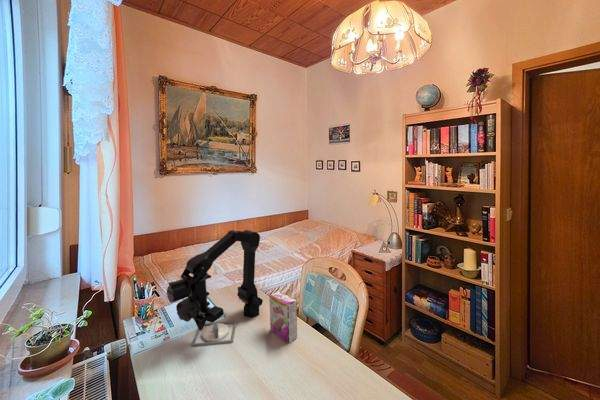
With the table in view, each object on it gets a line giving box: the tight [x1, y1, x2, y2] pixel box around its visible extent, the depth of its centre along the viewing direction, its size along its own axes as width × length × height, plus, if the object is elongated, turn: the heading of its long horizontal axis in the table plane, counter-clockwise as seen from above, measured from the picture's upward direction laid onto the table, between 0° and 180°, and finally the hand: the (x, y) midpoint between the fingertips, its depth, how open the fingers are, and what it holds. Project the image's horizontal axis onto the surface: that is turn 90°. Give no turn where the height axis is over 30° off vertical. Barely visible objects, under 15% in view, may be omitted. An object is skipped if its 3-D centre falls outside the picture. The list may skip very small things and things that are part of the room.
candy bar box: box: [269, 290, 298, 344], centre depth 106 cm, size 11×5×16 cm, turn 47°
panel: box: [191, 320, 237, 348], centre depth 107 cm, size 15×13×2 cm
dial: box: [201, 323, 229, 342], centre depth 106 cm, size 10×10×5 cm
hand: (201, 329), depth 102 cm, fingers closed
